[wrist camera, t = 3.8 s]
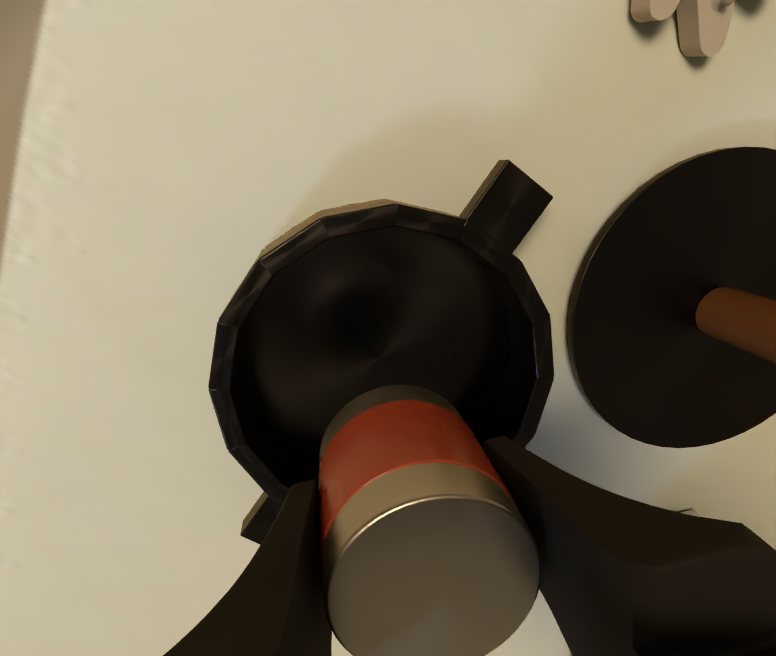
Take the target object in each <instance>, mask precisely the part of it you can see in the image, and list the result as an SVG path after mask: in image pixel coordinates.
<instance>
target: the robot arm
mask: <svg viewBox="0 0 776 656" xmlns="http://www.w3.org/2000/svg"><path fill="white" fill-rule="evenodd" d="M484 445H485V453H486V454H487V456H488V458H489V459H490V461H491V463H492V464H493V466H494V467H495V469H496V471H497V472H498V474H499V475H500V477H501V479H502V480H503V482H504V484H505V485H506V487H507V488H508V490H509V492H510V493H511V495H512V497H513V499H514V500H515V502H516V504H517V507H518V510H519V512H520V514H521V515H522V517H523V519H524V520H525V522H526V524H527V525H528V527H529V529H530V530H531V532H532V534H533V536H534V538H535V539H536V542H537V545H538V548H539V551H540V557H541V581H540V587H539V589H540V591H541V593H542V594H543V596H544V598H545V600H546V602H547V604H548V605H549V607H550V609H551V611H552V613H553V615H554V617H555V619H556V621H557V624H558V626H559V628H560V630H561V632H562V634H563V636H564V639H565V641H566V643H567V645H568V647H569V649H570V653H571V656H776V550H774V549H773V548H772V547H771V546H770V545H768V544H767V543H766V542H765V541H763V540H762V539H761V538H760V537H759V536H757V535H756V534H755V533H754V532H752V531H751V530H750V529H749V528H747V527H746V526H744V525H743V524H742V523H737V522H730V521H724V520H717V519H710V518H704V517H700V516H699V514H697V513H696V512H695V511H693V510H689V511H685V512H681V513H679V512H675V511H670V510H666V509H662V508H659V507H655V506H651V505H648V504H645V503H641V502H638V501H635V500H632V499H629V498H626V497H623V496H620V495H617V494H614V493H612V492H609V491H607V490H604V489H602V488H599V487H597V486H594V485H592V484H590V483H588V482H585V481H583V480H581V479H579V478H577V477H575V476H573V475H571V474H569V473H567V472H565V471H563V470H561V469H559V468H558V467H556V466H554V465H552V464H550V463H549V462H547V461H545V460H543V459H542V458H540V457H538V456H537V455H535V454H533V453H532V452H530V451H528V450H527V449H525V448H523V447H522V446H520V445H519V444H517V443H515V442H514V441H512V440H510V439H509V438H507V437H505V436H501V437H497V438H493V439H488V440H484ZM331 640H332V629H331V628H330V626H329V623H328V620H327V617H326V613H325V608H324V591H323V574H322V569H321V563H320V519H319V494H318V490H317V486H316V482H315V479H313V480H309V481H305V482H300V483H296V484H293V485H292V487H291V488H290V490H289V492H288V494H287V497H286V499H285V501H284V503H283V505H282V507H281V509H280V511H279V513H278V515H277V517H276V519H275V521H274V523H273V524H272V526H271V528H270V530H269V532H268V534H267V535H266V537H265V539H264V541H263V542H262V544H261V545H260V547H259V549H258V550H257V552H256V553H255V555H254V556H253V558H252V560H251V561H250V563H249V564H248V566H247V567H246V568H245V570H244V571H243V573H242V574H241V575H240V577H239V578H238V579H237V581H236V582H235V583H234V585H233V586H232V587H231V588H230V590H229V591H228V592H227V593H226V594H225V595H224V596H223V598H222V599H221V600H220V601H219V602H218V603H217V604H216V605H215V606H214V608H213V609H212V610H211V611H210V612H209V613H208V614H207V615H206V616H205V617H204V618H203V619H202V620H201V621H200V622H199V623H198V624H197V625H196V626H195V627H194V628H193V629H192V630H191V631H190V632H189V633H188V634H187V635H186V636H185V637H184V638H183V639H182V640H180V641H179V642H178V643H177V644H176V645H175V646H174V647H173V648H171V649H170V650H169V651H168V652H167V653H166V654H164V655H163V656H331Z"/></svg>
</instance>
